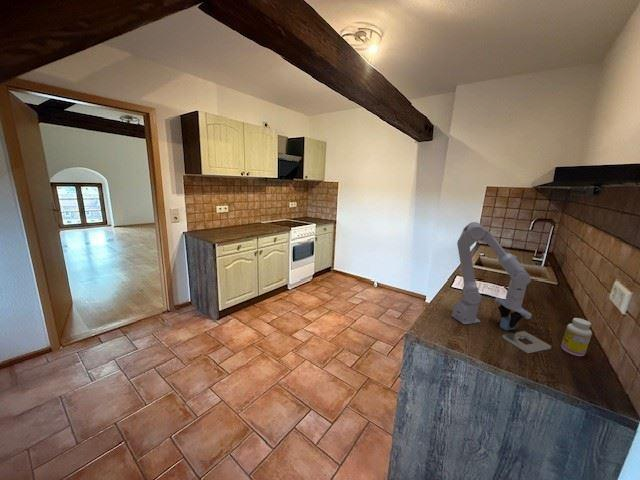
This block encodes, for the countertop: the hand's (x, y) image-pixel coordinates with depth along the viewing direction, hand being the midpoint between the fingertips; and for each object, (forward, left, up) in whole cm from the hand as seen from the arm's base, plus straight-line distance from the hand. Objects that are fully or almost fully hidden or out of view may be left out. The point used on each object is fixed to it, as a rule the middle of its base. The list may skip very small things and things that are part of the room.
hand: (507, 324), depth 111 cm
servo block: (0, 0, -1) cm, 1 cm away
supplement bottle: (+10, -18, -2) cm, 21 cm away
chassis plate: (-3, -10, -1) cm, 11 cm away
